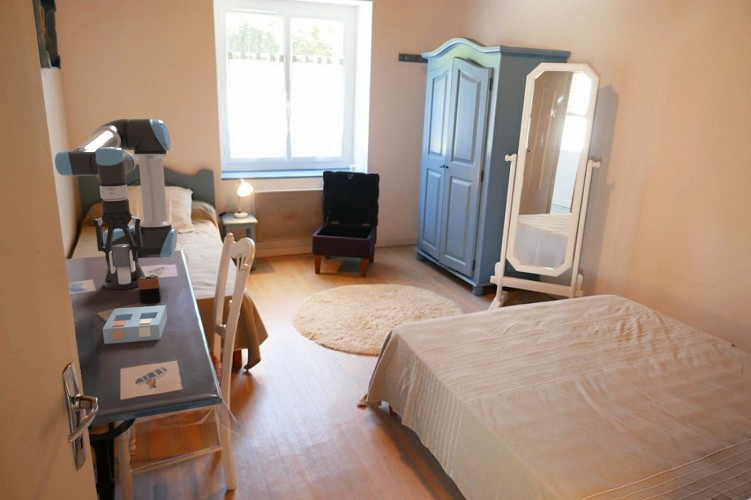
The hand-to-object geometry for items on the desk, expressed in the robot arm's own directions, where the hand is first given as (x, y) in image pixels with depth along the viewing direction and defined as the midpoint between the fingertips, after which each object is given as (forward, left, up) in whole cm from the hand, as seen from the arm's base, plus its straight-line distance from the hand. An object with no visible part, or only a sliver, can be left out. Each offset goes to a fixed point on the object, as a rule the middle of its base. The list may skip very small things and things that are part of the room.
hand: (123, 271), depth 165 cm
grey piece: (0, 0, -4) cm, 4 cm away
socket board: (+3, +3, -20) cm, 20 cm away
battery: (-23, +3, -20) cm, 31 cm away
